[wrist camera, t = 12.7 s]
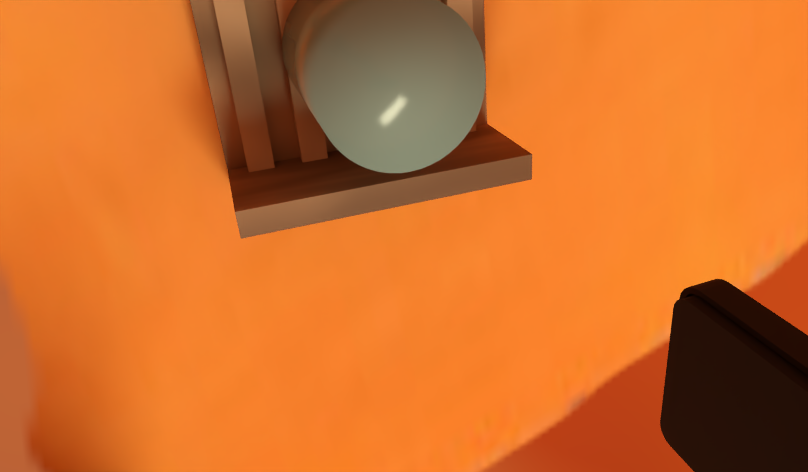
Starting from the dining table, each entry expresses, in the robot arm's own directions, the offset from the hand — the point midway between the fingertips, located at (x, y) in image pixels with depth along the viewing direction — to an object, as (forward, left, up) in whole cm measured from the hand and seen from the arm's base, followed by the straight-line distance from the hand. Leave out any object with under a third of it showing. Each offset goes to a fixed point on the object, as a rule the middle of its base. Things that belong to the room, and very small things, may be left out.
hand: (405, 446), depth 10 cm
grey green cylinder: (-2, +4, -22) cm, 22 cm away
